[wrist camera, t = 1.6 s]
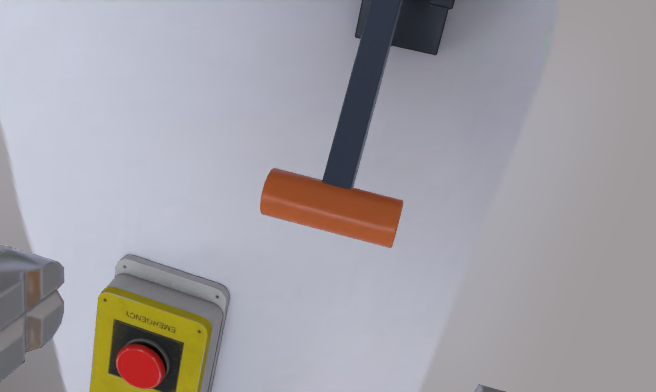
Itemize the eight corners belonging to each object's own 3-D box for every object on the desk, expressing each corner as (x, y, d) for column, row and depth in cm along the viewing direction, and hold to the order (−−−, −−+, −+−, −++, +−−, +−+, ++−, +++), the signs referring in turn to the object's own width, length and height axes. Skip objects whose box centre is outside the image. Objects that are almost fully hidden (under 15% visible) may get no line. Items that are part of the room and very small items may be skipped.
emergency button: (208, 318, 38) (180, 470, 43) (231, 287, 42) (202, 430, 47) (87, 278, 39) (75, 431, 44) (121, 251, 43) (106, 395, 48)
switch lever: (390, 249, 21) (392, 247, 18) (267, 216, 21) (254, 210, 19) (470, -65, 22) (481, -104, 20) (352, -87, 23) (350, -128, 20)
